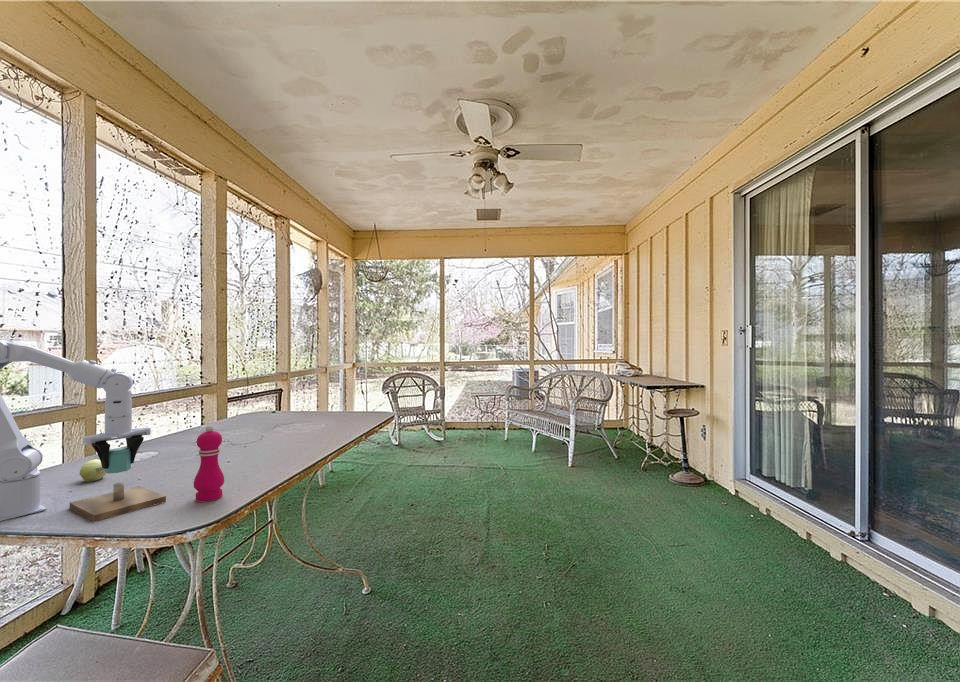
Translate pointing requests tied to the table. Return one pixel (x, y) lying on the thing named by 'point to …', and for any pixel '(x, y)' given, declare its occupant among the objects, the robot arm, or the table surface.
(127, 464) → the cap
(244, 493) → the table surface
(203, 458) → the pepper mill
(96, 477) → the lemon
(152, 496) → the peg board
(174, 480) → the table surface
